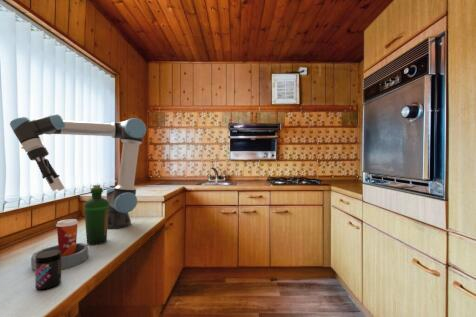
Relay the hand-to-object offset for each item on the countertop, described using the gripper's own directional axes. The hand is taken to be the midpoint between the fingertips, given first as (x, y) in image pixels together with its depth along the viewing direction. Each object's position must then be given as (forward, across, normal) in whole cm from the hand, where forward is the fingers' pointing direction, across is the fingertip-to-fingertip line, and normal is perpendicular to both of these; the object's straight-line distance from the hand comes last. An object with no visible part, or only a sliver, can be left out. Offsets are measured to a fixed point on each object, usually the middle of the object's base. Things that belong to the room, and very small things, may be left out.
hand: (59, 189), depth 119 cm
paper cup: (+27, +17, -7) cm, 33 cm away
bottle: (+31, +1, +2) cm, 31 cm away
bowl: (+28, +21, -9) cm, 36 cm away
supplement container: (+30, +42, -10) cm, 53 cm away
